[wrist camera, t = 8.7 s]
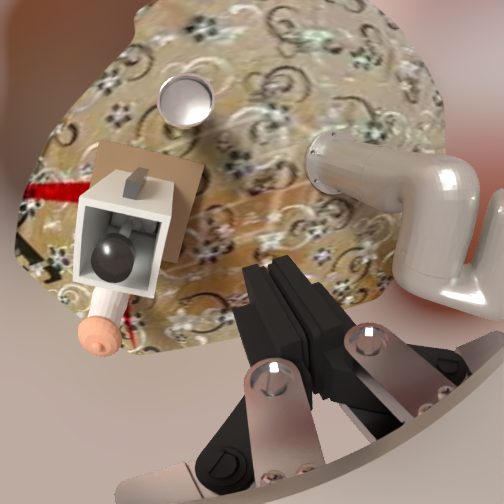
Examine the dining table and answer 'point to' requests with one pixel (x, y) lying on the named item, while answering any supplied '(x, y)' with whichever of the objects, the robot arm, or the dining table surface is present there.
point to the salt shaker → (103, 322)
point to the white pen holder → (135, 211)
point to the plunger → (119, 248)
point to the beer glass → (185, 101)
